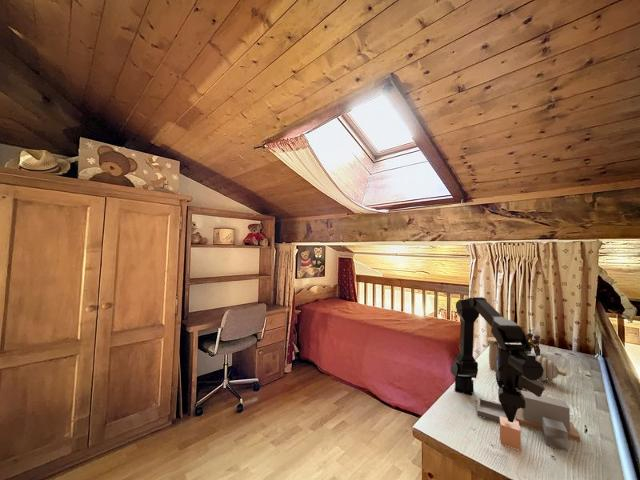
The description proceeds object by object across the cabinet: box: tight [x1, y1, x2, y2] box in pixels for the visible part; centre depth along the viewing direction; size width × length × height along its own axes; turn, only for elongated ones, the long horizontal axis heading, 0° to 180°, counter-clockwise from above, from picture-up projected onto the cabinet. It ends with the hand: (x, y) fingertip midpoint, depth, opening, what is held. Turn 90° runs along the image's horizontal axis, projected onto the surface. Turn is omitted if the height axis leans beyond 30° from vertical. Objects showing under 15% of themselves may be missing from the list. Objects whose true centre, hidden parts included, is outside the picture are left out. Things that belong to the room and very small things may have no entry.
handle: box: [486, 336, 498, 371], centre depth 130 cm, size 5×6×15 cm
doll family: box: [525, 332, 542, 357], centre depth 144 cm, size 23×9×13 cm, turn 144°
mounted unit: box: [515, 390, 581, 443], centre depth 89 cm, size 16×8×9 cm, turn 58°
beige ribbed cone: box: [534, 354, 567, 386], centre depth 119 cm, size 11×17×11 cm, turn 47°
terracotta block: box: [499, 416, 522, 451], centre depth 81 cm, size 5×5×6 cm
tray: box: [476, 396, 507, 424], centre depth 95 cm, size 10×10×2 cm
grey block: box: [542, 417, 569, 453], centre depth 81 cm, size 5×5×6 cm
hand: (509, 413), depth 81 cm, fingers open, 9 cm apart
